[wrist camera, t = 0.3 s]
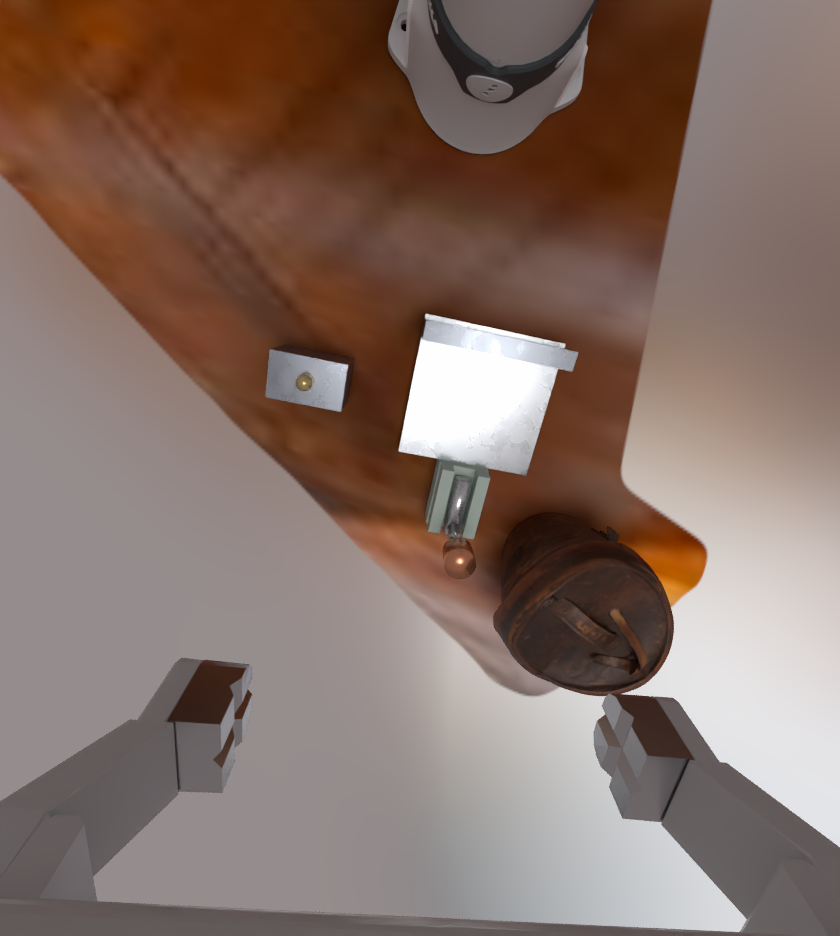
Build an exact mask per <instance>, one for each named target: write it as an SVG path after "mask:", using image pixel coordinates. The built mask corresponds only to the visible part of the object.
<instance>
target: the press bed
mask: <svg viewBox="0 0 840 936" xmlns="http://www.w3.org/2000/svg"><path fill="white" fill-rule="evenodd" d="M565 345H566V344H563V343H559V342H554V341H550V340H545V339H541V338H536V337H531V336H527V335H522V334H518V333H513V332H508V331H504V330H499V329H495V328H490V327H485V326H481V325H476V324H472V323H467V322H463V321H458V320H453V319H449V318H444V317H440V316H435V315H430V314H426V313H425V318H424V323H423V328H422V333H421V338H420V343H419V348H418V353H417V358H416V363H415V368H414V374H413V379H412V384H411V389H410V394H409V399H408V404H407V409H406V414H405V419H404V424H403V429H402V434H401V439H400V444H399V451H400V452H405V453H410V454H416V455H421V456H426V457H432V458H437V459H442V460H447V461H453V462H458V463H463V464H469V465H474V466H479V467H484V468H490V469H495V470H500V471H505V472H511V473H516V474H521V475H526V474H527V471H528V467H529V464H530V461H531V457H532V454H533V451H534V447H535V444H536V441H537V437H538V434H539V431H540V427H541V424H542V421H543V418H544V414H545V411H546V408H547V404H548V401H549V398H550V394H551V391H552V388H553V384H554V381H555V378H556V374H557V371H558V369H562V370H567V371H571V372H572V371H573V368H574V365H575V361H576V358H577V355H578V352H575V351H571V350H568V349H564V348H565Z"/></svg>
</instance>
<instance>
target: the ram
mask: <svg viewBox="0 0 840 936" xmlns="http://www.w3.org/2000/svg"><path fill="white" fill-rule="evenodd" d="M471 484H472V480H471V479H470V478H467V477H464V476H456V477H455V481H454V485H453V489H452V493H451V497H450V501H449V505H448V509H447V513H446V517H445V521H444V525H443V529H442V531H443V532H444V533H445V534H447V535H448V537H449V540H448V541H447V542H446V543H445V544H444V546H443V558H444V566H445V570H446V572H447V574H448V575H449V576H451V577H453V578H456V579H463V578H467V577H469V576H470V575H471V574H472V573H473V572H474V570H475V568H476V562H475V558H474V554H473V550H472V546H471V544H470V543H469V542H468V541H467V540H466V539H464V538H461V535H460V531H459V530H460V526H461V522H462V518H463V514H464V511H465V507H466V503H467V499H468V495H469V491H470V488H471Z"/></svg>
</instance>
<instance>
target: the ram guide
mask: <svg viewBox="0 0 840 936" xmlns="http://www.w3.org/2000/svg"><path fill="white" fill-rule="evenodd" d="M456 476H464V477H467V478H470V479H471V480H472V484H471V488H470V491H469V495H468V499H467V503H466V507H465V511H464V514H463V518H462V522H461V526H460V529H461V534H462V537H463V538H468V539H474V536H475V533H476V529H477V525H478V522H479V518H480V514H481V511H482V507H483V504H484V500H485V496H486V493H487V489H488V485H489V482H490V477H489V471H488V469H487V468H484V467H479V466H474V465H469V464H463V463H458V462H453V461H447V460H442V459H437V463H436V467H435V472H434V476H433V480H432V485H431V489H430V493H429V498H428V502H427V506H426V511H425V518H426V523H427V524H428V532H434V533H440V530H441V526H443V525H444V521H445V517H446V513H447V509H448V505H449V501H450V497H451V493H452V489H453V485H454V481H455V477H456Z"/></svg>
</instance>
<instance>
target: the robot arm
mask: <svg viewBox="0 0 840 936" xmlns="http://www.w3.org/2000/svg"><path fill="white" fill-rule="evenodd" d="M597 1H598V0H399V3H398V6H397V9H396V12H395V15H394V18H393V21H392V25H391V28H390V31H389V35H388V50H389V53H390V55H391V56H392V58H393V60H394V61H395V62H396V64H397V65H398V66H399V67H400V69H401V70H402V71H403V72H404V73H405V75H406V76H407V78H408V80H409V82H410V84H411V87H412V90H413V93H414V96H415V99H416V102H417V104H418V107H419V109H420V111H421V113H422V115H423V117H424V118H425V120H426V122H427V123H428V125H429V126H430V127H431V128H432V130H433V131H434V132H435V133H436V134H437V135H438V136H439V137H440V138H441V139H443V140H444V141H445V142H447V143H448V144H450V145H451V146H453V147H455V148H457V149H459V150H462V151H465V152H469V153H474V154H492V153H497V152H501V151H504V150H506V149H509V148H511V147H513V146H515V145H516V144H518V143H520V142H521V141H522V140H524V139H525V138H526V137H527V136H529V135H530V134H531V133H532V132H533V131H534V130H535V129H536V127H537V126H538V125H539V124H540V123H541V122H542V121H543V120H544V119H545V118H546V117H547V116H548V115H550V114H551V113H554V112H556V111H558V110H561V109H563V108H565V107H567V106H568V105H570V104H571V103H573V102H574V101H575V100H576V98H577V97H578V95H579V93H580V91H581V88H582V82H583V72H584V62H585V56H586V53H587V50H588V46H587V45H586V43H587V33H588V24H589V21H590V19H591V16H592V14H593V11H594V8H595V6H596V3H597ZM403 24H406V31H403V30H402V29H401V26H402V25H403ZM251 680H252V667H251V665H249V664H239V663H229V662H221V661H211V660H197V659H188V658H181V659H180V660H178V661H177V662H176V663H175V664H174V665H173V667H172V668H171V670H170V671H169V673H168V674H167V676H166V677H165V679H164V680H163V682H162V683H161V685H160V686H159V688H158V690H157V691H156V693H155V694H154V696H153V697H152V699H151V700H150V702H149V703H148V705H147V706H146V708H145V709H144V711H143V712H142V714H141V715H140V717H139V718H138V720H129V721H127V722H125V723H124V724H122V725H121V726H119V727H117V728H116V729H114V730H113V731H111V732H109V733H108V734H106V735H105V736H103V737H102V738H100V739H98V740H97V741H95V742H94V743H92V744H91V745H89V746H87V747H86V748H84V749H83V750H81V751H79V752H78V753H76V754H75V755H73V756H71V757H70V758H68V759H67V760H65V761H64V762H62V763H60V764H59V765H57V766H56V767H54V768H52V769H51V770H49V771H48V772H46V773H45V774H43V775H41V776H40V777H38V778H37V779H35V780H34V781H32V782H30V783H29V784H27V785H26V786H24V787H22V788H21V789H19V790H18V791H16V792H14V793H13V794H11V795H10V796H8V797H7V798H5V799H3V800H2V801H0V936H840V847H838V846H837V845H836V844H834V843H833V842H832V841H830V840H829V839H828V838H826V837H825V836H824V835H822V834H821V833H820V832H818V831H817V830H816V829H814V828H813V827H812V826H810V825H809V824H808V823H806V822H805V821H804V820H802V819H801V818H800V817H798V816H797V815H796V814H794V813H792V811H790V810H789V809H787V808H786V807H785V806H783V805H782V804H781V803H779V802H778V801H777V800H775V799H774V798H773V797H771V796H770V795H769V794H767V793H766V792H765V791H763V790H762V789H761V788H759V787H758V786H757V785H755V784H754V783H753V782H751V781H750V780H749V779H747V778H746V777H745V776H743V775H742V774H741V773H739V772H738V771H737V770H735V769H734V768H733V767H731V766H730V765H729V764H727V763H721V762H719V760H718V759H717V758H716V756H715V755H714V753H713V752H712V750H711V749H710V747H709V746H708V744H707V743H706V742H705V740H704V739H703V737H702V736H701V735H700V733H699V731H698V730H697V728H696V727H695V725H694V724H693V723H692V721H691V720H690V718H689V717H688V715H687V714H686V712H685V711H684V710H683V708H682V707H681V705H680V704H679V702H677V701H676V700H675V699H674V698H667V697H653V696H651V697H649V696H637V695H622V694H608V695H607V696H606V697H605V699H604V702H603V705H602V707H603V709H604V711H605V715H604V716H603V717H601V718H600V719H599V720H598V721H597V723H596V726H595V730H594V747H595V751H596V756H597V758H598V761H599V763H600V766H601V767H602V768H603V769H604V770H605V771H606V772H607V773H608V774H609V775H610V776H611V777H612V779H611V782H610V786H609V788H610V790H611V792H612V795H613V797H614V799H615V801H616V804H617V806H618V809H619V811H620V814H621V816H622V818H624V819H635V820H645V821H655V822H662V826H663V827H664V828H665V829H666V830H667V831H668V832H669V833H670V834H671V836H672V837H673V838H674V839H675V840H676V841H677V842H678V843H679V844H680V846H681V847H682V848H683V849H684V850H685V851H686V852H687V853H688V854H689V855H690V857H691V858H692V859H693V860H694V861H695V862H696V863H697V864H698V865H699V866H700V868H701V869H702V870H703V871H704V872H705V873H706V874H707V875H708V876H709V878H710V879H711V880H712V881H713V882H714V883H715V884H716V885H717V886H718V888H719V889H720V890H721V891H722V892H723V893H724V894H725V895H726V896H727V898H728V899H729V900H730V901H731V902H732V903H733V904H734V905H735V906H736V908H738V910H739V911H740V912H741V913H742V914H743V915H744V916H745V917H746V919H747V921H746V922H745V924H744V926H743V927H742V929H741V931H740V932H721V931H701V930H681V929H659V928H638V927H618V926H597V925H575V924H554V923H534V922H513V921H491V920H490V921H489V920H470V919H450V918H429V917H408V916H387V915H366V914H346V913H325V912H303V911H283V910H263V909H243V908H221V907H200V906H181V905H160V904H139V903H119V902H98V901H97V898H96V892H95V886H94V880H93V876H94V875H95V874H96V873H97V872H98V871H99V870H100V869H101V868H103V867H104V865H106V864H107V863H108V862H109V861H110V860H111V859H112V858H113V857H114V856H115V855H116V854H117V853H118V852H119V851H120V850H121V849H122V848H123V847H124V846H125V845H126V844H127V843H128V842H129V841H130V840H132V838H134V837H135V836H136V834H138V832H140V831H141V830H142V829H143V828H144V827H145V826H146V825H147V824H148V823H149V822H150V821H151V820H152V819H153V818H154V817H155V816H156V815H157V814H158V813H160V812H161V811H162V810H163V809H164V808H165V807H166V806H167V805H168V804H169V803H170V802H171V801H172V800H173V799H174V798H175V797H176V796H177V795H178V791H182V792H183V791H184V792H212V793H222V792H223V790H224V787H225V785H226V782H227V780H228V777H229V775H230V772H231V769H232V767H233V764H234V762H235V747H236V746H237V745H239V744H240V743H241V742H242V741H243V738H244V735H245V732H246V730H247V726H248V722H249V718H250V714H251V706H252V694H251V693H250V691H249V690H248V687H249V685H250V682H251Z"/></svg>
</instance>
